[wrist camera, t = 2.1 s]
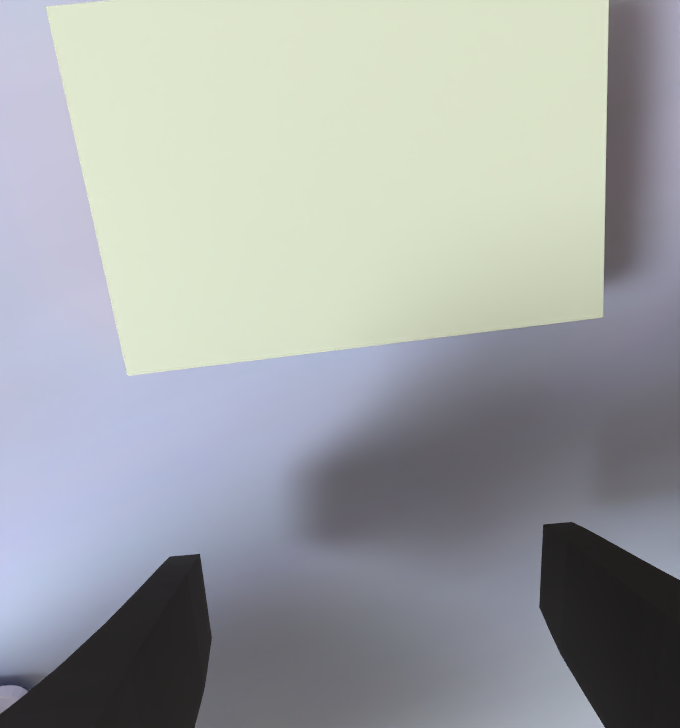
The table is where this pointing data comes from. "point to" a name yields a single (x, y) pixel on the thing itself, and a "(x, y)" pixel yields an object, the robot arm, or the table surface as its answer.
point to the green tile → (337, 169)
